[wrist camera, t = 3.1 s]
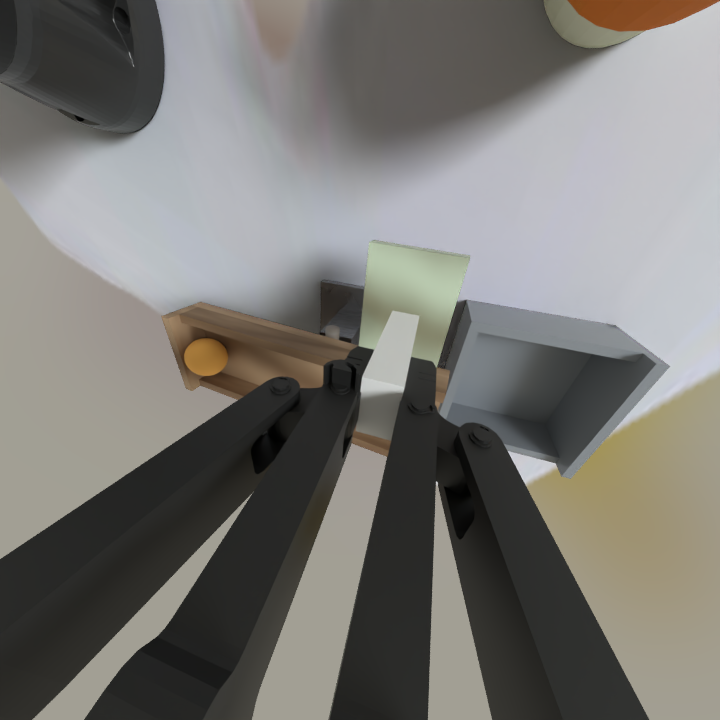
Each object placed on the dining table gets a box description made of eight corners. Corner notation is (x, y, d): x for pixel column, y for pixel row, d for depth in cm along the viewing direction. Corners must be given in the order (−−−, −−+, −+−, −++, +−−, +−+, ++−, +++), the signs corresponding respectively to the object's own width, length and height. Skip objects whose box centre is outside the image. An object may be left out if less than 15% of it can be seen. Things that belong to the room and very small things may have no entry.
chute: (190, 207, 22) (124, 209, 18) (487, 255, 16) (490, 273, 12) (226, 367, 32) (187, 393, 27) (426, 437, 25) (415, 483, 21)
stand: (323, 279, 29) (293, 300, 23) (396, 292, 28) (383, 318, 22) (322, 369, 35) (298, 403, 30) (380, 383, 34) (367, 421, 28)
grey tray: (466, 299, 26) (473, 328, 20) (615, 325, 24) (670, 366, 18) (434, 399, 33) (432, 441, 27) (547, 426, 31) (570, 478, 25)
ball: (203, 338, 27) (168, 353, 24) (220, 327, 25) (185, 343, 22) (224, 367, 28) (192, 386, 25) (242, 360, 26) (210, 379, 23)
